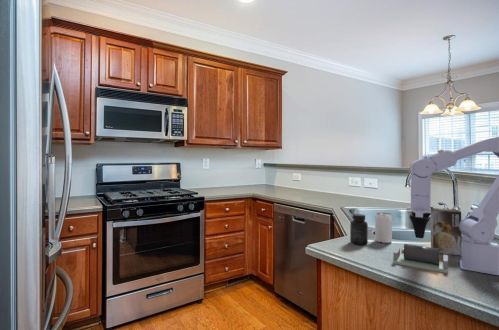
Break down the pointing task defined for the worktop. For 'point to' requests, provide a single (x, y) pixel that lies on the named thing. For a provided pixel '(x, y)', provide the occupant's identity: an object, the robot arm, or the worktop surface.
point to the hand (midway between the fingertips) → (420, 235)
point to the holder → (429, 266)
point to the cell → (421, 253)
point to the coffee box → (446, 231)
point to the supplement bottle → (359, 230)
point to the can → (383, 227)
